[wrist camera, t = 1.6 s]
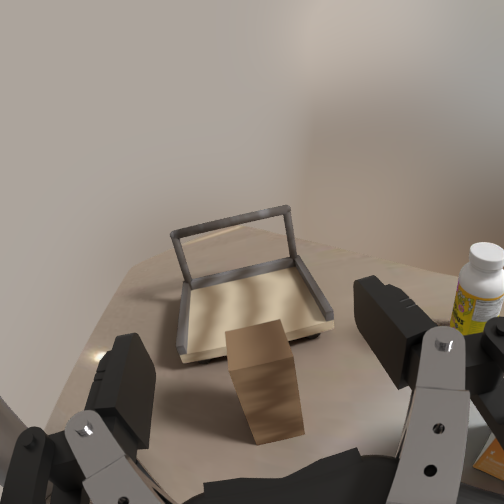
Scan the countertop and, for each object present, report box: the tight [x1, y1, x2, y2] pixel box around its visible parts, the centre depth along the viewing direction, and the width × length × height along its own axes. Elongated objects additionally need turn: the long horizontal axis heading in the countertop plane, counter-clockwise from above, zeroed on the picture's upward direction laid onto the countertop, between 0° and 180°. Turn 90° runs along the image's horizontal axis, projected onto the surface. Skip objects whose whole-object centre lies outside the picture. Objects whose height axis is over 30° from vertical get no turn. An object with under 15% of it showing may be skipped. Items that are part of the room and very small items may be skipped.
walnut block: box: [225, 319, 305, 445], centre depth 28 cm, size 5×5×12 cm
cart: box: [170, 205, 334, 364], centre depth 44 cm, size 20×17×14 cm
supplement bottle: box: [449, 242, 504, 335], centre depth 30 cm, size 7×7×13 cm
